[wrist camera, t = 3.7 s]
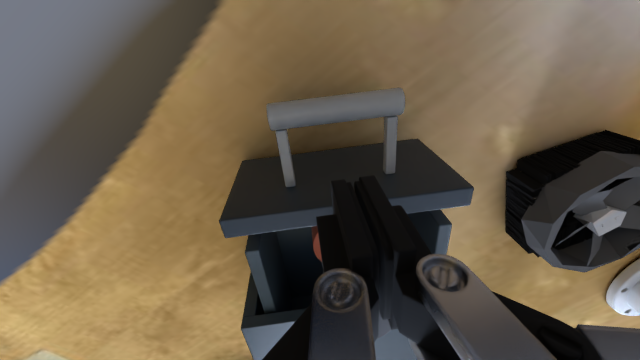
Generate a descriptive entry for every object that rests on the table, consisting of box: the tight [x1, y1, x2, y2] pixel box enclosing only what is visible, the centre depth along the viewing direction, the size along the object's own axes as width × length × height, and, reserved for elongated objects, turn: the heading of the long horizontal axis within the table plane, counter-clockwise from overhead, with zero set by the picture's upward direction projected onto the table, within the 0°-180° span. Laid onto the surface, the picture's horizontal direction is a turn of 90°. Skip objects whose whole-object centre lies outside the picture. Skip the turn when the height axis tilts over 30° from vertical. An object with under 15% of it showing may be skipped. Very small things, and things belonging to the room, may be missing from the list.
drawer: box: [219, 88, 474, 314], centre depth 20 cm, size 20×13×7 cm, turn 6°
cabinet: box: [241, 273, 417, 360], centre depth 25 cm, size 17×15×9 cm
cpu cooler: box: [506, 130, 640, 272], centre depth 22 cm, size 10×6×10 cm
